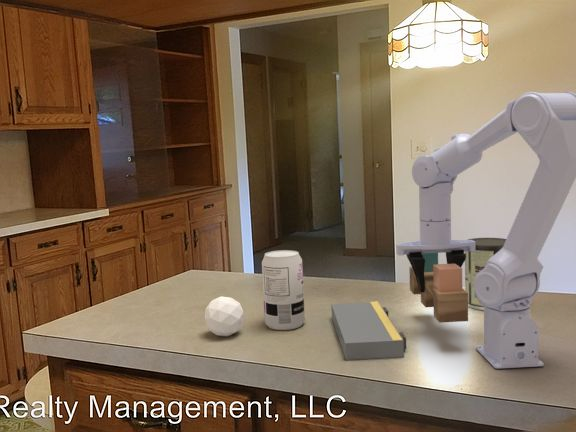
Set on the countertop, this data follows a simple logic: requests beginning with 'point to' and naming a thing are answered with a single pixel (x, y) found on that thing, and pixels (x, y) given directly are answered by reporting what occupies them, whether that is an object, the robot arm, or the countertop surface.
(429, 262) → the teal crate
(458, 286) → the terracotta brick
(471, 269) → the coffee can
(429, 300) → the brown long bar
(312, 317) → the countertop surface
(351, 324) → the dock
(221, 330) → the ball
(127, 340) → the countertop surface
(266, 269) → the supplement can
